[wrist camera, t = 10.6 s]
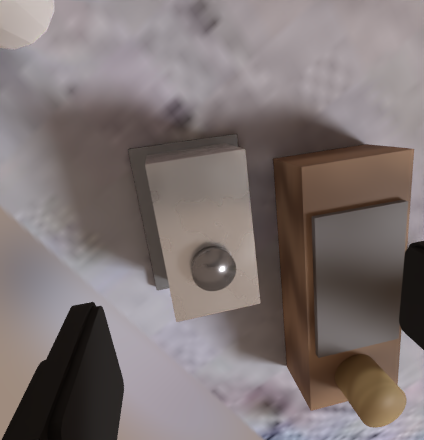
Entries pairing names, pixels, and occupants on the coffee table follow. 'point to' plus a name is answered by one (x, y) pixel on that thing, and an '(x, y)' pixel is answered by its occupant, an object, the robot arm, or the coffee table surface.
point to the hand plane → (344, 274)
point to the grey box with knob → (205, 228)
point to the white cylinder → (23, 21)
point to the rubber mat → (145, 198)
